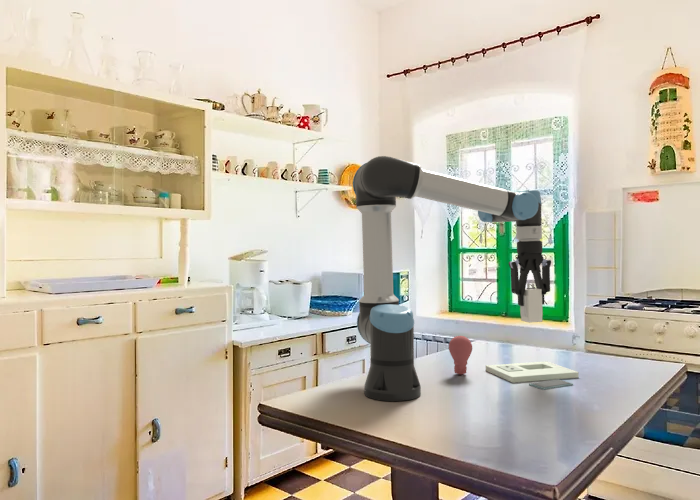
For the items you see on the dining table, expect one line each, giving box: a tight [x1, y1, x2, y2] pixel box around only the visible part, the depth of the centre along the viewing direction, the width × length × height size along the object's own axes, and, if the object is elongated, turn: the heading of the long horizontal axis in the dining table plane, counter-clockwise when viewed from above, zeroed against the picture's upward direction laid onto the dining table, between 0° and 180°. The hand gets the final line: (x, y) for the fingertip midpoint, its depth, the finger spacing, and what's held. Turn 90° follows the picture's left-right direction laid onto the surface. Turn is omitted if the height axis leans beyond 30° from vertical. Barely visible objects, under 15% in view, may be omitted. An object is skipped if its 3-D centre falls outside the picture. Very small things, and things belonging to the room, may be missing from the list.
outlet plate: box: [485, 360, 580, 384], centre depth 169 cm, size 22×16×2 cm
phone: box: [528, 379, 574, 391], centre depth 156 cm, size 11×6×1 cm, turn 115°
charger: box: [520, 283, 543, 324], centre depth 170 cm, size 4×4×12 cm
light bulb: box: [448, 335, 473, 376], centre depth 169 cm, size 7×7×12 cm
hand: (531, 315), depth 170 cm, fingers closed on charger, 4 cm apart
